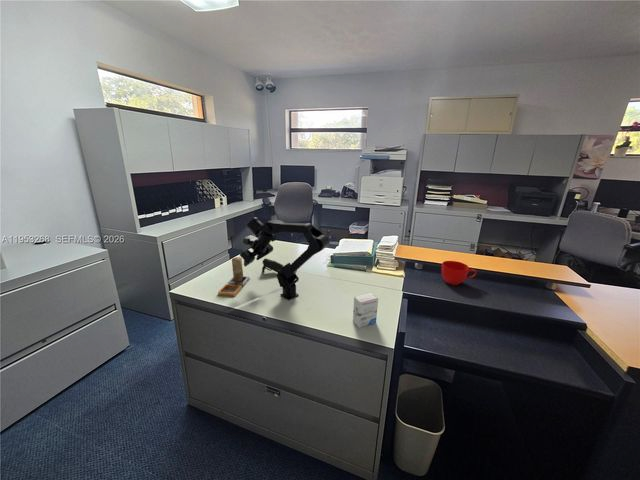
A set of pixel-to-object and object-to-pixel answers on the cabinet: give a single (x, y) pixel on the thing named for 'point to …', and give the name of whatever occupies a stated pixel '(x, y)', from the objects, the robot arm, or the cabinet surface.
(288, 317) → the cabinet surface
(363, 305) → the ink box
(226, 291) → the tray
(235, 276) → the post
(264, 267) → the gun
